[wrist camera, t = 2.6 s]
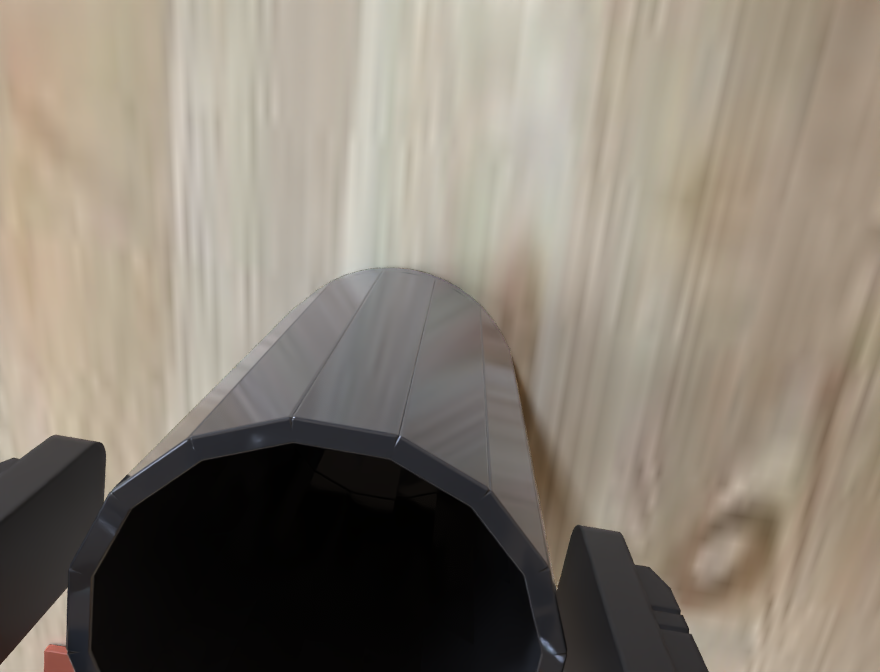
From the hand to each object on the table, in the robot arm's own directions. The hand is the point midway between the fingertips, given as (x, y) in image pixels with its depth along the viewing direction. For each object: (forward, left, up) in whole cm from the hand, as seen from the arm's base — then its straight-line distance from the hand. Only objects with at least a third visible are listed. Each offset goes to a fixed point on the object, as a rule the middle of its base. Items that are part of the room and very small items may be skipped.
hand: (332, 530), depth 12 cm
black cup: (0, 0, -7) cm, 7 cm away
